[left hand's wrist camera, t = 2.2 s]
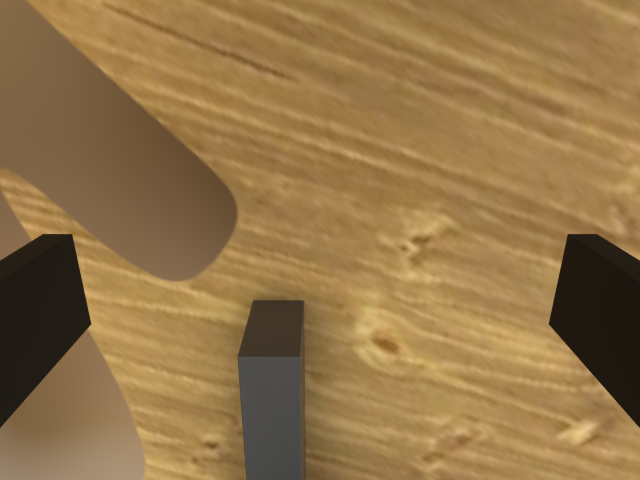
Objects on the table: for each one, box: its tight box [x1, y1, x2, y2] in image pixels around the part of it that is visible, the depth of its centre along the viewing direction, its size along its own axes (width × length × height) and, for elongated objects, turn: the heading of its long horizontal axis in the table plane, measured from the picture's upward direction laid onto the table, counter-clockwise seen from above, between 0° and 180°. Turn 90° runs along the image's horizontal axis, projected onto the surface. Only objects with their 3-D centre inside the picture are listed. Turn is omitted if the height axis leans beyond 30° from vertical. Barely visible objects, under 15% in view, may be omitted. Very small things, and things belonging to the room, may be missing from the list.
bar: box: [238, 301, 305, 480], centre depth 42 cm, size 27×5×8 cm, turn 179°
